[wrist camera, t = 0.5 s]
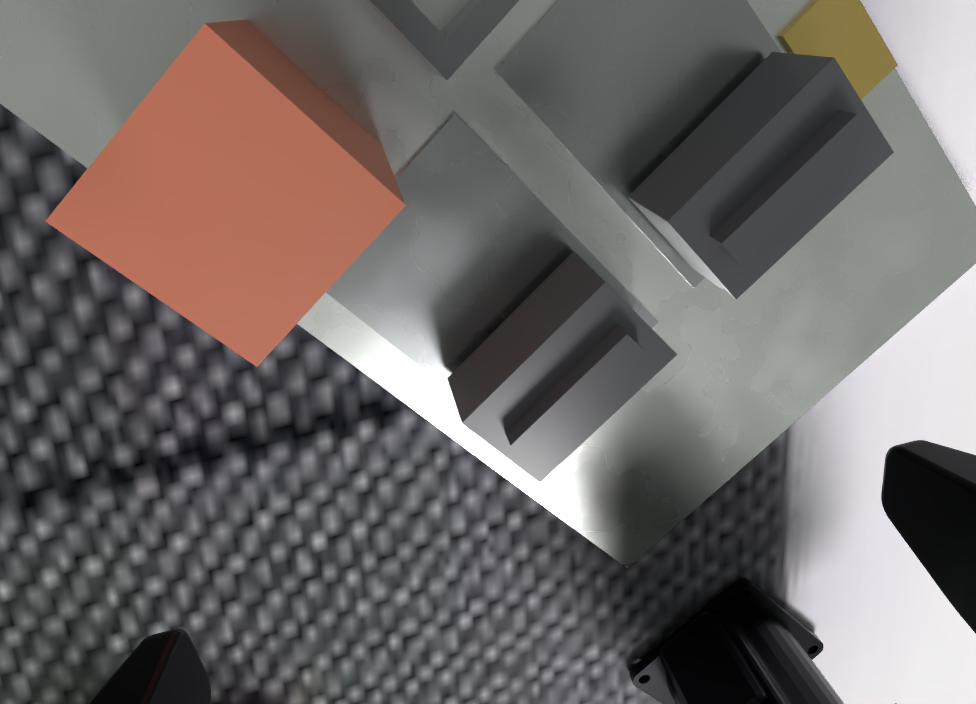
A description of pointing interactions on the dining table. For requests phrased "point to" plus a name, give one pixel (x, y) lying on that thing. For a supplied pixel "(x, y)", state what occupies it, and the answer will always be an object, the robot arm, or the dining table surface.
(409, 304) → the panel
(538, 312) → the toggle
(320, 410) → the dining table surface
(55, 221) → the orange-red rectangular block
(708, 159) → the toggle
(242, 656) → the dining table surface
